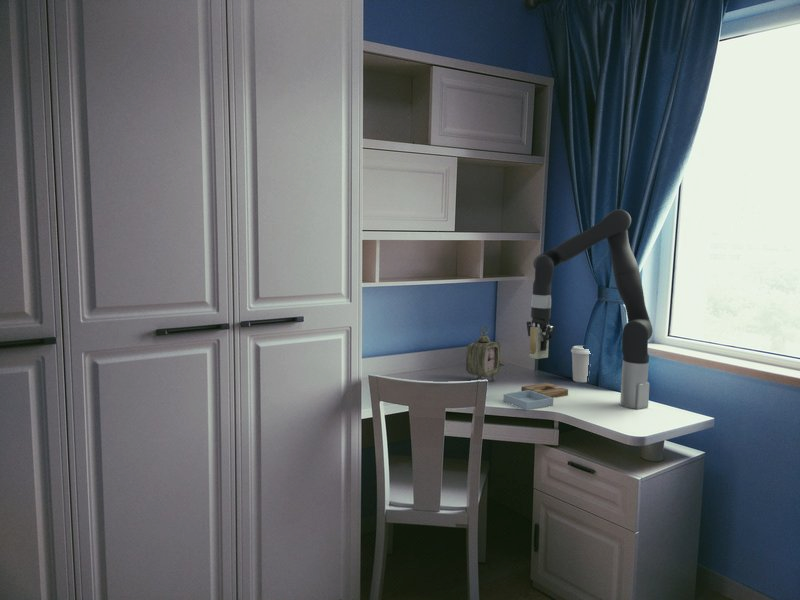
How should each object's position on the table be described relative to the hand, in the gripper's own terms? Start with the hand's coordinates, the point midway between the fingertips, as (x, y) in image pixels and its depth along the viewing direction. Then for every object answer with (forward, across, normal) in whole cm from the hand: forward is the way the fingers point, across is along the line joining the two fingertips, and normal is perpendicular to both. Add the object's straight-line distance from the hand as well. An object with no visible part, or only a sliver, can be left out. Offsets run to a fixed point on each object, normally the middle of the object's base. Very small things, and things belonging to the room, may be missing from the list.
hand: (538, 349), depth 244 cm
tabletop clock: (+20, +30, +5) cm, 36 cm away
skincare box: (+4, 0, 0) cm, 4 cm away
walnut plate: (+20, +3, -7) cm, 21 cm away
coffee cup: (+20, +14, -38) cm, 45 cm away
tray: (+20, -6, +9) cm, 22 cm away
